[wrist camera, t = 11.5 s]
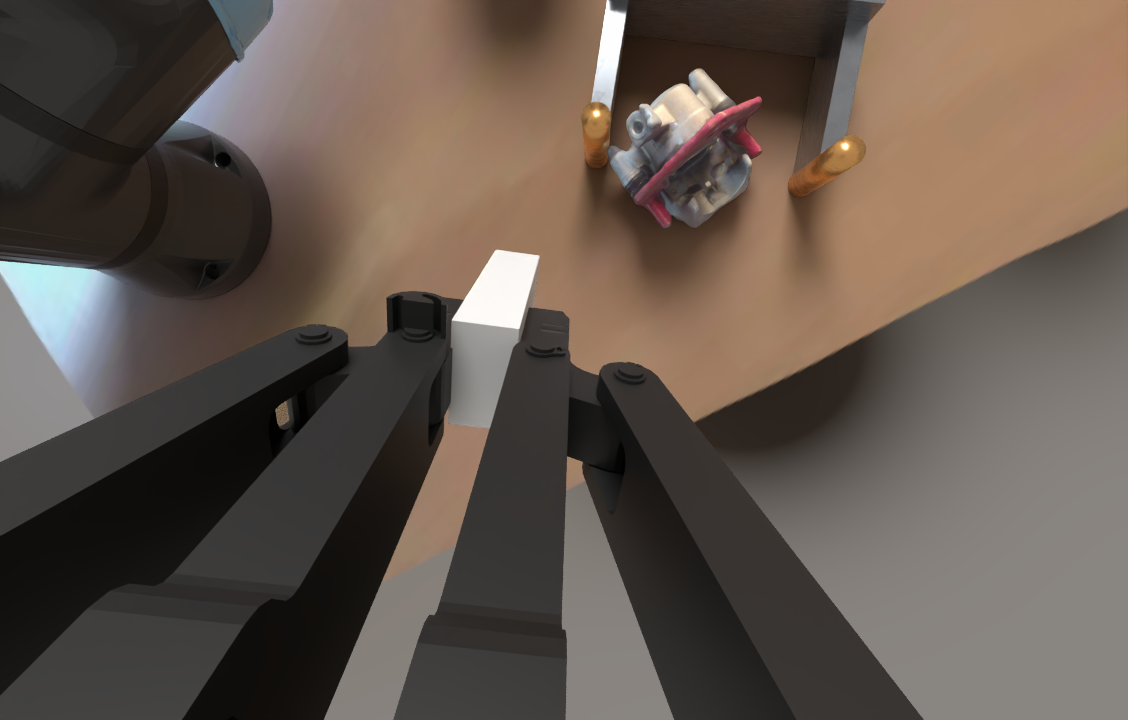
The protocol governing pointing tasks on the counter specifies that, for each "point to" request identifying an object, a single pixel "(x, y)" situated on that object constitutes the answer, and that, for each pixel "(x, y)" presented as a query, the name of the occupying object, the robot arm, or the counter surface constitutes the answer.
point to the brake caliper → (687, 152)
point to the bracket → (756, 22)
